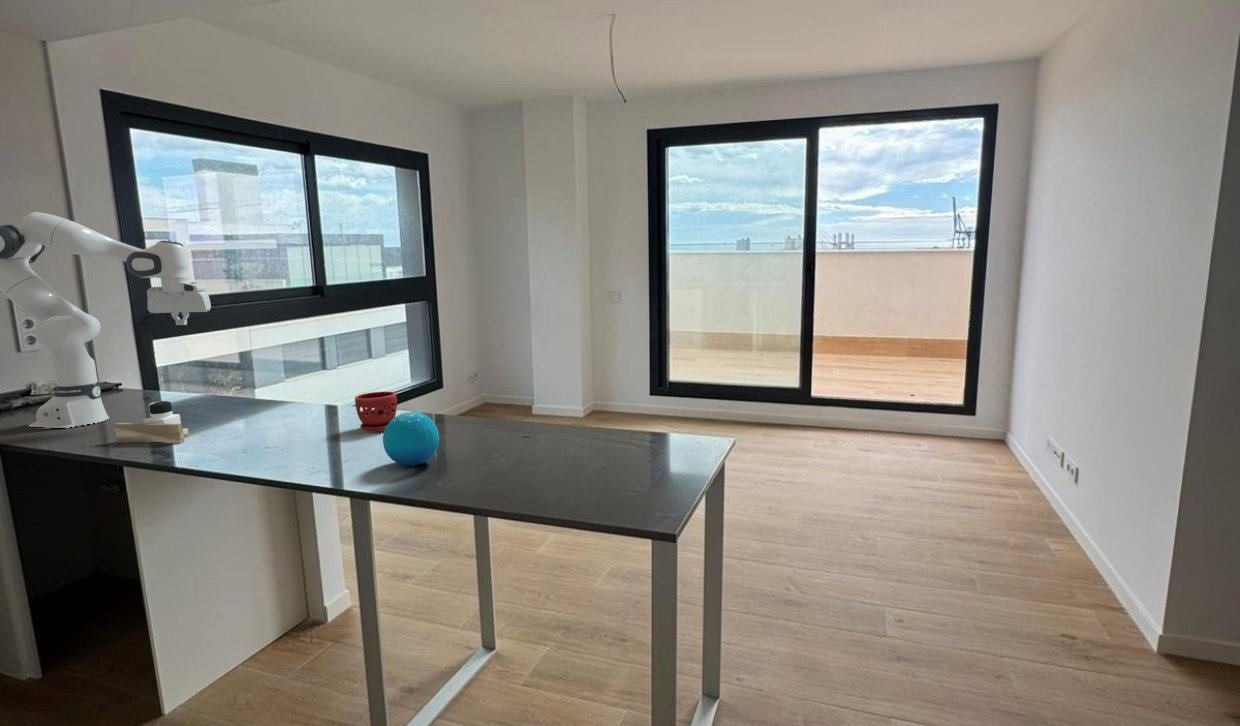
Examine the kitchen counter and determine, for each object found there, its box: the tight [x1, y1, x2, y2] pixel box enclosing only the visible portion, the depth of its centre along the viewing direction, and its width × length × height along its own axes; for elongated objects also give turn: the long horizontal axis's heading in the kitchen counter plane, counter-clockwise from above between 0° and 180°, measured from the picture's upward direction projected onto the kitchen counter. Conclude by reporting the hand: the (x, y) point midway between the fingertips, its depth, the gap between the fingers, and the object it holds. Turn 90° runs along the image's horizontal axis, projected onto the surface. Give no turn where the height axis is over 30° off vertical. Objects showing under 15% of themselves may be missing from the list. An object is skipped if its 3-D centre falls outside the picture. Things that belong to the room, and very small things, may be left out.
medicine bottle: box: [142, 400, 182, 424], centre depth 209 cm, size 7×7×12 cm
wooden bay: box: [113, 422, 190, 444], centre depth 208 cm, size 8×22×6 cm, turn 84°
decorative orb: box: [382, 411, 440, 467], centre depth 178 cm, size 15×15×15 cm
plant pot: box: [354, 391, 398, 433], centre depth 216 cm, size 13×13×12 cm
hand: (181, 324), depth 233 cm, fingers closed
